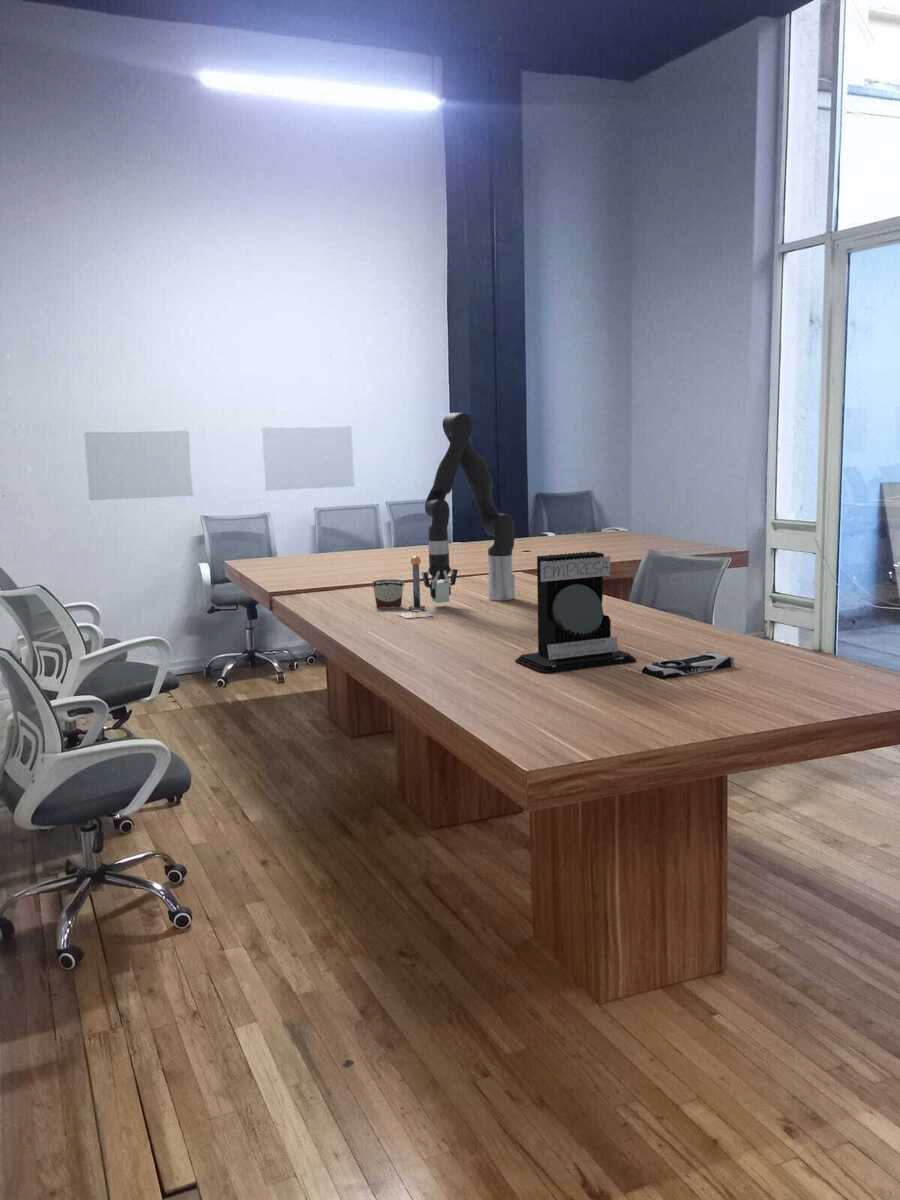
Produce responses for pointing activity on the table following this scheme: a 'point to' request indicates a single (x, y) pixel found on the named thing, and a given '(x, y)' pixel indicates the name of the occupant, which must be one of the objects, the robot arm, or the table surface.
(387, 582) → the food container
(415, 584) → the metal post
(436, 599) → the green block
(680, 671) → the graphics card
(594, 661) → the award
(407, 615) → the pad
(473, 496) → the robot arm
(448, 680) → the table surface
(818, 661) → the table surface
